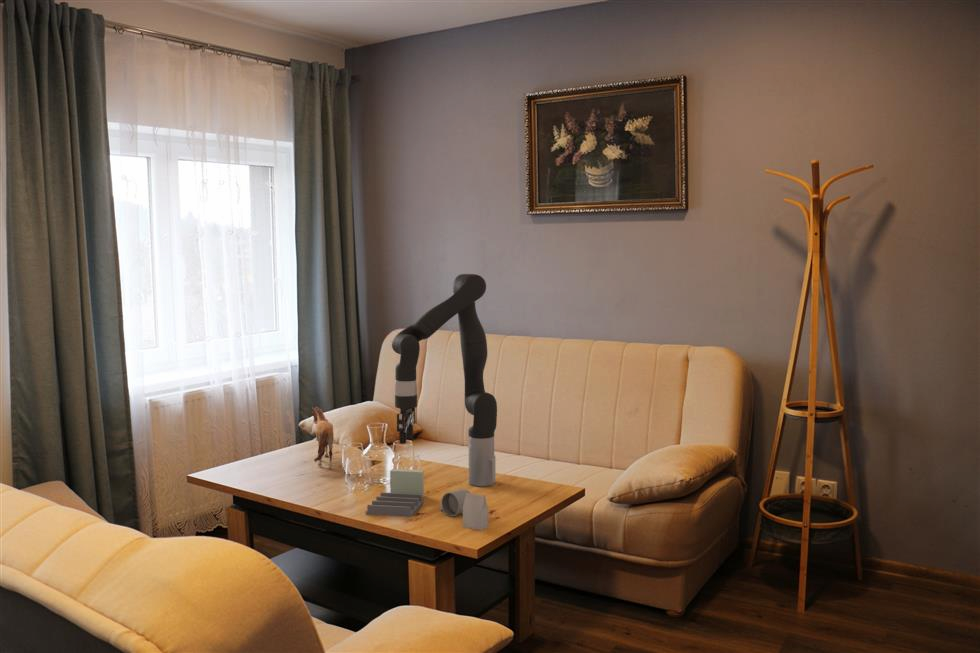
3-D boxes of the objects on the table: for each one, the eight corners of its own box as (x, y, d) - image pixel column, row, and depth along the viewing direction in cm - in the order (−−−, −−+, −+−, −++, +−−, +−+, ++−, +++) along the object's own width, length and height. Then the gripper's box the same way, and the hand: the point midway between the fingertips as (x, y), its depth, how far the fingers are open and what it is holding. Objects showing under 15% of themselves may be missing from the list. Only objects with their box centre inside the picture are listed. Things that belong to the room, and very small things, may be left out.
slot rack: (423, 503, 273) (423, 494, 273) (411, 516, 259) (411, 507, 259) (379, 501, 276) (379, 492, 276) (365, 514, 262) (365, 505, 262)
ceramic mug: (475, 512, 264) (475, 488, 263) (458, 518, 257) (458, 494, 257) (450, 506, 270) (450, 483, 270) (433, 513, 264) (433, 489, 263)
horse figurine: (312, 454, 340) (311, 405, 338) (332, 453, 341) (331, 404, 340) (314, 474, 310) (312, 420, 308) (335, 473, 311) (334, 419, 310)
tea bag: (481, 530, 246) (481, 497, 246) (462, 526, 250) (462, 494, 249) (488, 527, 249) (488, 494, 249) (469, 523, 253) (469, 491, 252)
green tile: (423, 496, 282) (423, 470, 281) (421, 498, 279) (421, 472, 278) (392, 494, 283) (392, 469, 283) (390, 496, 281) (390, 470, 280)
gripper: (411, 397, 271) (411, 446, 272) (422, 390, 285) (422, 436, 286) (389, 396, 272) (389, 445, 273) (401, 389, 286) (401, 435, 287)
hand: (406, 440), depth 280 cm, fingers open, 8 cm apart
